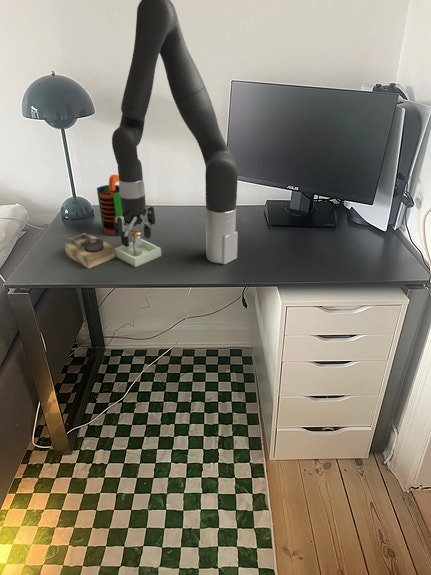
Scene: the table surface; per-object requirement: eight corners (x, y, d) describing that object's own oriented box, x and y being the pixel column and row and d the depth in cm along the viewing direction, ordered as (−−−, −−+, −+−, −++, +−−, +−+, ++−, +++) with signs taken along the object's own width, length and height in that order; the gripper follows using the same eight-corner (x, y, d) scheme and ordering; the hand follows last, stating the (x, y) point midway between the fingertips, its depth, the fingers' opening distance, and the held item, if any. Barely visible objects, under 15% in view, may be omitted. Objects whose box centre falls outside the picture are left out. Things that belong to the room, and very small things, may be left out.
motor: (97, 232, 164) (89, 178, 153) (112, 223, 171) (106, 171, 160) (119, 237, 160) (112, 182, 149) (134, 228, 167) (129, 175, 156)
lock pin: (145, 254, 148) (143, 231, 143) (137, 257, 146) (134, 235, 141) (139, 251, 150) (136, 228, 145) (130, 254, 148) (128, 232, 143)
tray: (161, 255, 148) (160, 248, 147) (135, 267, 142) (134, 259, 140) (141, 245, 154) (140, 238, 153) (115, 256, 148) (114, 248, 146)
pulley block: (115, 257, 147) (112, 238, 143) (88, 268, 141) (85, 248, 137) (91, 245, 155) (88, 226, 151) (65, 254, 149) (61, 235, 145)
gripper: (120, 202, 130) (126, 252, 139) (158, 190, 139) (161, 238, 147) (105, 196, 135) (111, 245, 143) (143, 185, 143) (146, 231, 152)
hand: (137, 241), depth 145 cm, fingers open, 8 cm apart
